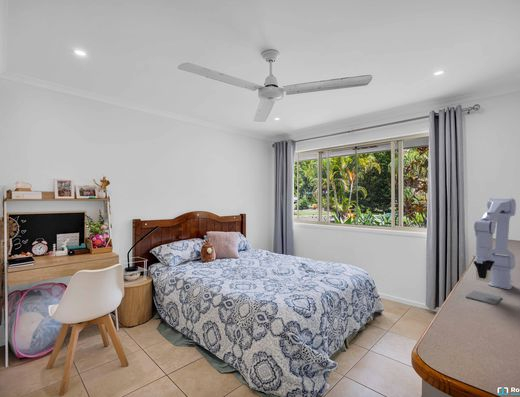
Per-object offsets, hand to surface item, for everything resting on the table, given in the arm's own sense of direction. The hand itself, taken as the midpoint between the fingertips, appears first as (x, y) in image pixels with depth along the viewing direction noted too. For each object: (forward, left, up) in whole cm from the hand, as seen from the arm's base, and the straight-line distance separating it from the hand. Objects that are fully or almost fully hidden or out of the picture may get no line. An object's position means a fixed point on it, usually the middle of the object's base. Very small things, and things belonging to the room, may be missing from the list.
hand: (483, 277), depth 122 cm
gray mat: (+3, +1, -9) cm, 9 cm away
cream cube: (0, 0, -1) cm, 1 cm away
